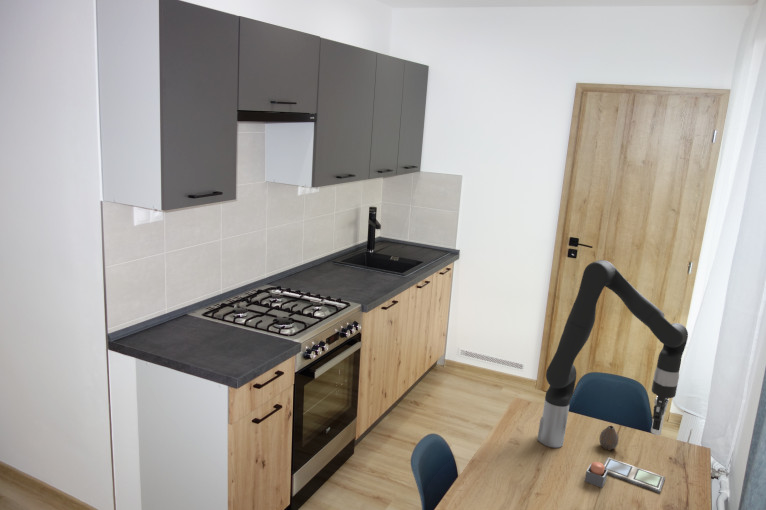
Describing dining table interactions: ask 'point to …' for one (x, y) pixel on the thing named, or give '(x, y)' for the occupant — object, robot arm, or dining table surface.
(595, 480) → the button housing
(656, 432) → the marker
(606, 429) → the vase
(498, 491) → the dining table surface
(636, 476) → the picture board
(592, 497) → the dining table surface
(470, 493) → the dining table surface
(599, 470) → the button
